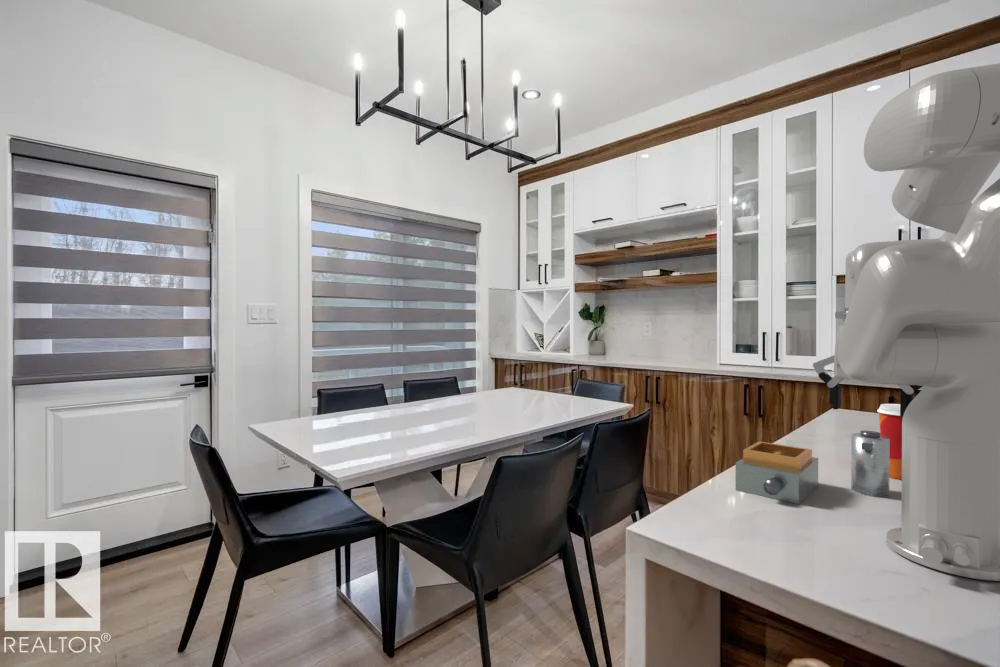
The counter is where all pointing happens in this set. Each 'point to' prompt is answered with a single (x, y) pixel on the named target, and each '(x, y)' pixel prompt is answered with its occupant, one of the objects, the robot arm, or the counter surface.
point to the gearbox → (777, 471)
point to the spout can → (870, 463)
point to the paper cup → (892, 436)
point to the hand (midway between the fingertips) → (868, 411)
